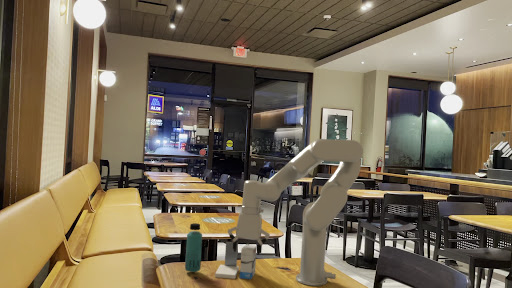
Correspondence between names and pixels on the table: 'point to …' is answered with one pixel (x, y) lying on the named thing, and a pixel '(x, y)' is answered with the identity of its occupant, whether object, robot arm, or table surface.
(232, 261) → the bookend
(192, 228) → the beverage bottle
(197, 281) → the table surface
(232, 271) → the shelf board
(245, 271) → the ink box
